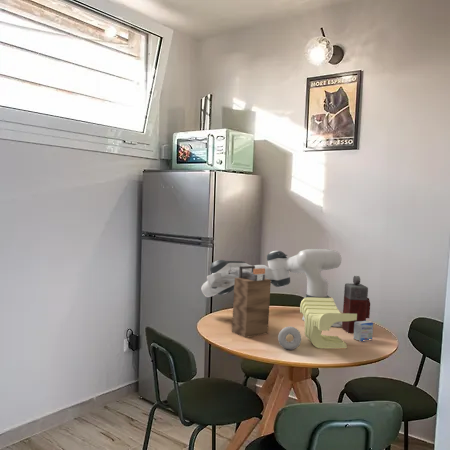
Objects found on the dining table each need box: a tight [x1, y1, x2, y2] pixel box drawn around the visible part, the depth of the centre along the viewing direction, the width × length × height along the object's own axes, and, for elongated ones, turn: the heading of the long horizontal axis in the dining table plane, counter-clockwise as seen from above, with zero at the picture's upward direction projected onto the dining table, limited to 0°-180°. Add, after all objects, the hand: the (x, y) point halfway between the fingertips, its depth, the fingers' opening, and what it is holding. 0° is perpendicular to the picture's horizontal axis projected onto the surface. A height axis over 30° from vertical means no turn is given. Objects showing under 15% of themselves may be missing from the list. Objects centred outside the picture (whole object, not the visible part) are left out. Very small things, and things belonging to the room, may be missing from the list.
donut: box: [277, 326, 302, 351], centre depth 192 cm, size 10×4×10 cm, turn 89°
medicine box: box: [353, 320, 374, 342], centre depth 212 cm, size 8×4×9 cm, turn 117°
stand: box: [231, 265, 272, 338], centre depth 213 cm, size 10×14×31 cm
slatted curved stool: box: [299, 297, 357, 349], centre depth 203 cm, size 30×16×18 cm, turn 6°
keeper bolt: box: [230, 268, 265, 281], centre depth 216 cm, size 20×6×5 cm, turn 37°
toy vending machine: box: [341, 275, 371, 334], centre depth 226 cm, size 9×11×28 cm
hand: (236, 271), depth 222 cm, fingers open, 8 cm apart
